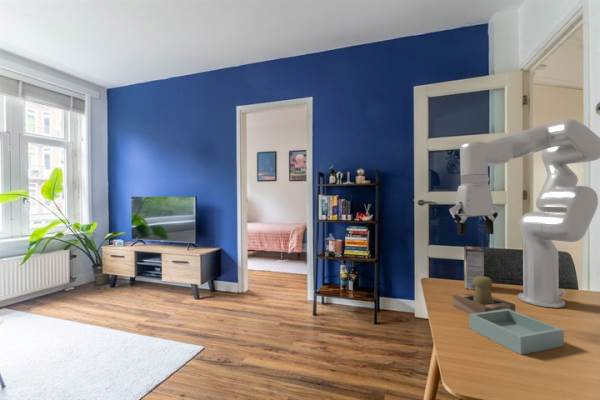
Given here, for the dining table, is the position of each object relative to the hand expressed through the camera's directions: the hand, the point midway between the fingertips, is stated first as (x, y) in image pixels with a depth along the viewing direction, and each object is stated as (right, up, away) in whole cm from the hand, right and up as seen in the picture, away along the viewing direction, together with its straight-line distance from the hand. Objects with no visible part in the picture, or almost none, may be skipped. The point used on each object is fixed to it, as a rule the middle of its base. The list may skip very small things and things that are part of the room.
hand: (475, 234), depth 91 cm
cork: (+3, -25, 0) cm, 25 cm away
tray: (-1, -25, -17) cm, 30 cm away
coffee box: (+15, -25, +26) cm, 39 cm away
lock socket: (+3, -25, 0) cm, 25 cm away
